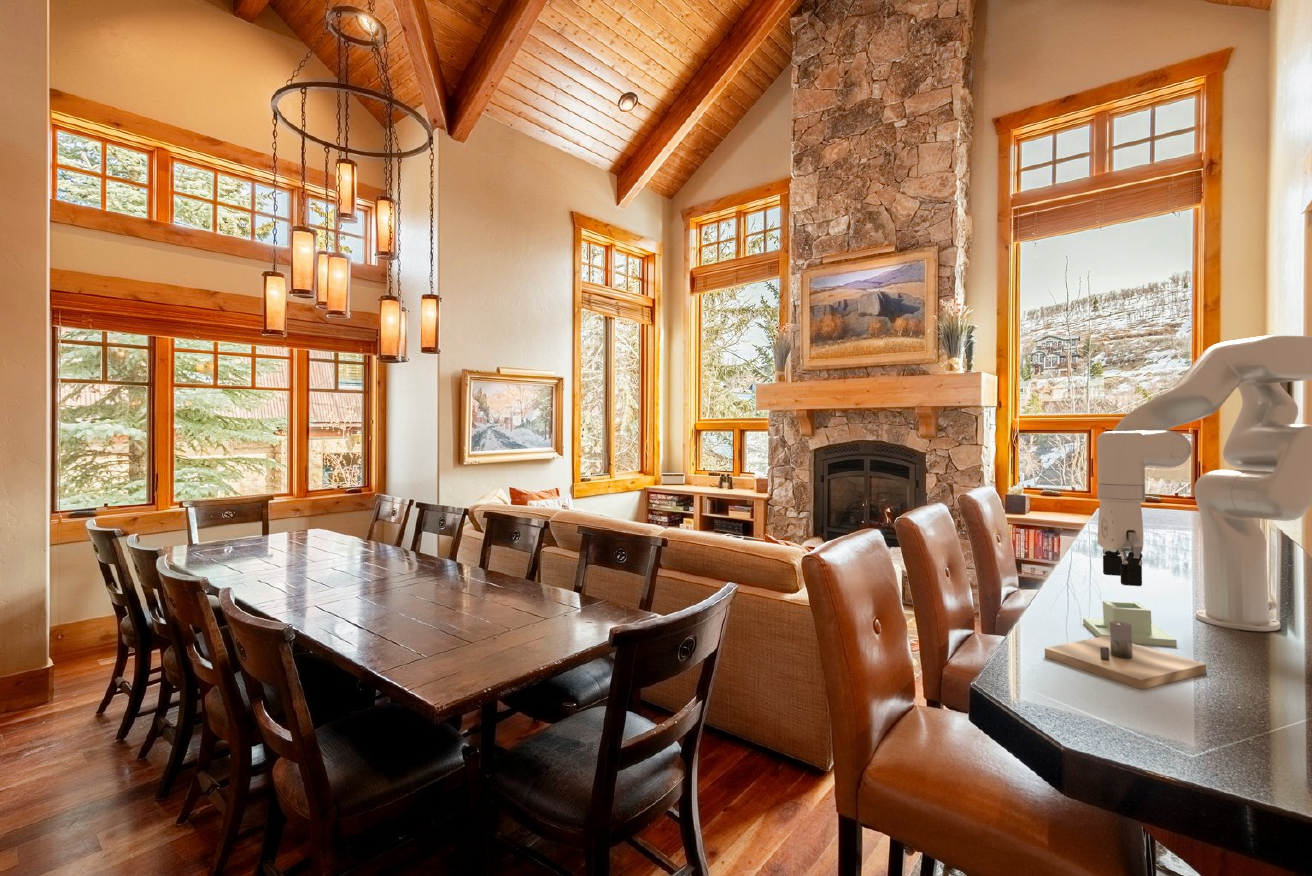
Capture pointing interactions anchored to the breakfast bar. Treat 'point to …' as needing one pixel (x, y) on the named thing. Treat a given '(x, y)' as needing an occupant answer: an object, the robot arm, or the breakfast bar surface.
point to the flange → (1136, 617)
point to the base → (1126, 663)
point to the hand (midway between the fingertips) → (1121, 580)
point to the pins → (1119, 641)
